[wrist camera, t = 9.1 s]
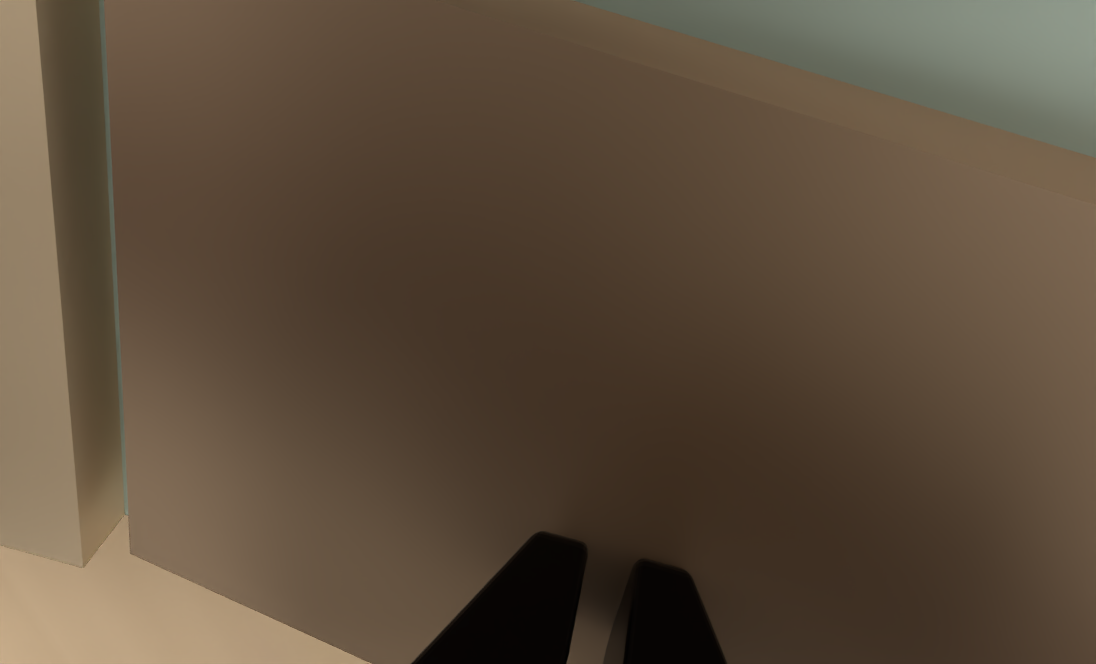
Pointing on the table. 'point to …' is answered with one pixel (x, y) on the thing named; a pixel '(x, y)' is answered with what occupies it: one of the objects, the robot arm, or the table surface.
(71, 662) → the table surface
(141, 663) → the table surface
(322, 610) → the plank
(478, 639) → the robot arm
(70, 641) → the table surface
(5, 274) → the underlay base
